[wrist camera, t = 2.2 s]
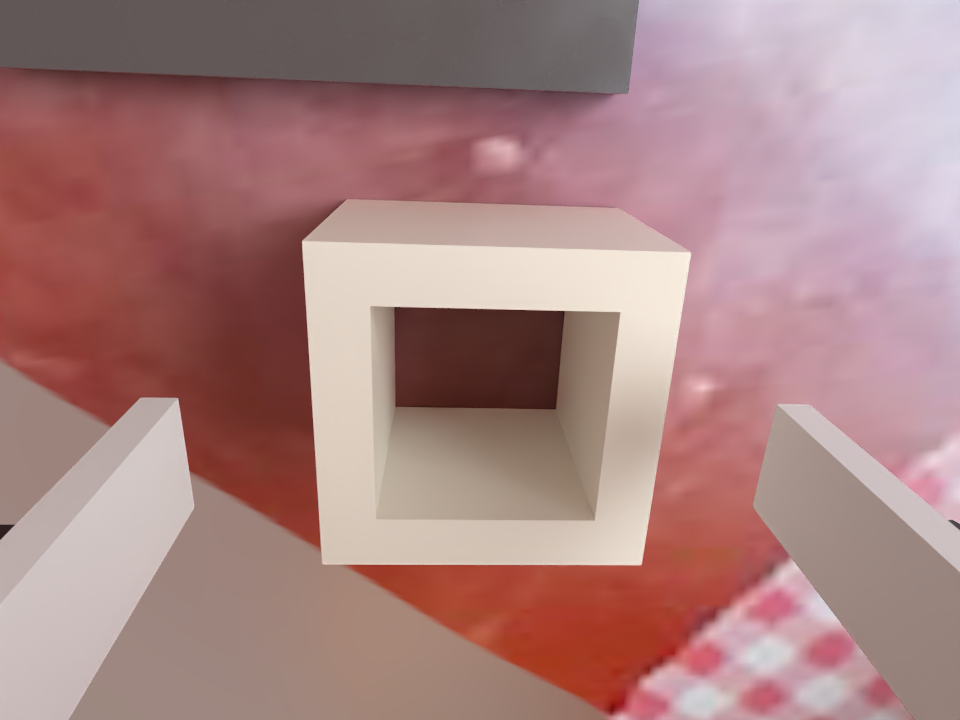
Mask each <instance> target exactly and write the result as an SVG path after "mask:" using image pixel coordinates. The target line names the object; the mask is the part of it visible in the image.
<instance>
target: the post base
mask: <svg viewBox="0 0 960 720" xmlns="http://www.w3.org/2000/svg"><path fill="white" fill-rule="evenodd" d="M638 2H639V0H0V67H3V68H15V69H32V70H55V71H79V72H102V73H126V74H149V75H173V76H196V77H219V78H243V79H266V80H290V81H313V82H337V83H360V84H383V85H407V86H430V87H454V88H477V89H501V90H524V91H548V92H571V93H594V94H628V91H629V82H630V73H631V64H632V56H633V47H634V38H635V29H636V20H637V11H638Z"/></svg>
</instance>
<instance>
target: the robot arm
mask: <svg viewBox="0 0 960 720" xmlns="http://www.w3.org/2000/svg"><path fill="white" fill-rule="evenodd" d="M194 507H195V506H194V499H193V493H192V486H191V479H190V473H189V466H188V460H187V453H186V447H185V440H184V433H183V427H182V420H181V414H180V407H179V400H178V398H140V399H139V400H138V401H137V402H136V403H135V404H134V405H133V406H132V407H131V408H130V409H129V410H128V411H127V412H126V413H125V414H124V415H123V416H122V417H121V418H120V419H119V420H118V421H117V422H116V423H115V424H114V425H113V426H112V427H111V428H110V429H109V430H108V431H107V432H106V433H105V434H104V435H103V436H102V437H101V438H100V439H99V440H98V441H97V442H96V443H95V444H94V446H93V447H92V448H91V449H90V450H89V451H88V452H87V453H86V454H85V455H84V456H83V457H82V458H81V459H80V460H79V461H78V462H77V463H76V464H75V465H74V466H73V467H72V468H71V469H70V470H69V471H68V472H67V473H66V474H65V475H64V476H63V477H62V478H61V479H60V480H59V481H58V482H57V483H56V484H55V485H54V486H53V487H52V488H51V489H50V490H49V491H48V492H47V493H46V494H45V495H44V496H43V497H42V498H41V499H40V500H39V501H38V502H37V503H36V504H35V505H34V506H33V507H32V508H31V509H30V510H29V512H27V513H26V515H25V516H23V518H22V519H21V520H20V521H19V522H18V523H17V524H16V525H0V720H69V718H70V716H71V715H72V713H73V711H74V710H75V708H76V706H77V705H78V703H79V701H80V699H81V698H82V696H83V694H84V693H85V691H86V689H87V687H88V686H89V684H90V683H91V681H92V679H93V678H94V676H95V674H96V673H97V671H98V669H99V667H100V666H101V664H102V662H103V661H104V659H105V657H106V656H107V654H108V652H109V650H110V649H111V647H112V645H113V644H114V642H115V641H116V639H117V637H118V635H119V634H120V632H121V630H122V629H123V627H124V625H125V624H126V622H127V620H128V618H129V617H130V615H131V614H132V612H133V610H134V608H135V607H136V605H137V603H138V602H139V600H140V598H141V597H142V595H143V593H144V592H145V590H146V588H147V587H148V585H149V583H150V582H151V580H152V578H153V576H154V575H155V573H156V571H157V570H158V568H159V566H160V564H161V563H162V561H163V560H164V558H165V556H166V555H167V553H168V551H169V550H170V548H171V546H172V544H173V543H174V541H175V539H176V538H177V536H178V534H179V533H180V531H181V529H182V527H183V526H184V524H185V523H186V521H187V519H188V518H189V516H190V514H191V513H192V511H193V509H194ZM753 508H754V509H755V510H756V512H757V513H758V514H759V516H760V517H761V518H762V520H763V521H764V522H765V524H766V525H767V526H768V528H769V529H770V530H771V532H772V533H773V534H774V536H775V537H776V538H777V539H778V541H779V542H780V543H781V545H782V546H783V547H784V549H785V550H786V551H787V553H788V554H789V555H790V557H791V558H792V559H793V561H794V562H795V563H796V564H797V566H798V567H799V568H800V570H801V571H802V572H803V574H804V575H805V576H806V578H807V579H808V580H809V582H810V583H811V584H812V586H813V587H814V588H815V590H816V591H817V592H818V593H819V595H820V596H821V597H822V599H823V600H824V601H825V603H826V604H827V605H828V607H829V608H830V609H831V611H832V612H833V613H834V615H835V616H836V617H837V619H838V620H839V621H840V622H841V624H842V625H843V626H844V628H845V629H846V630H847V632H848V633H849V634H850V636H851V637H852V638H853V640H854V641H855V642H856V644H857V645H858V646H859V648H860V649H861V650H862V651H863V653H864V654H865V655H866V657H867V658H868V659H869V661H870V662H871V663H872V665H873V666H874V667H875V669H876V670H877V671H878V673H879V674H880V675H881V676H882V678H883V679H884V680H885V682H886V683H887V684H888V686H889V687H890V688H891V690H892V691H893V692H894V694H895V695H896V696H897V698H898V699H899V700H900V702H901V703H902V704H903V705H904V707H905V708H906V709H907V711H908V712H909V713H910V715H911V716H912V717H913V719H914V720H960V524H959V523H957V522H955V521H953V520H947V519H946V518H944V517H943V516H942V515H941V514H940V513H938V512H937V511H936V510H935V509H934V508H932V507H931V506H930V505H929V504H928V503H927V502H925V501H924V500H923V499H922V498H921V497H919V496H918V495H917V494H916V493H915V492H913V491H912V490H911V489H910V488H909V487H907V486H906V485H905V484H904V483H903V482H901V481H900V480H899V479H898V478H897V477H896V476H894V475H893V474H892V473H891V472H890V471H888V470H887V469H886V468H885V467H884V466H882V465H881V464H880V463H879V462H878V461H876V460H875V459H874V458H873V457H872V456H870V455H869V454H868V453H867V452H866V451H865V450H863V449H862V448H861V447H860V446H859V445H857V444H856V443H855V442H854V441H853V440H851V439H850V438H849V437H848V436H847V435H845V434H844V433H843V432H842V431H841V430H839V429H838V428H837V427H836V426H835V425H833V424H832V423H831V422H830V421H829V420H828V419H826V418H825V417H824V416H823V415H822V414H820V413H819V412H818V411H817V410H816V409H814V408H813V407H812V406H811V405H810V404H777V405H776V409H775V413H774V417H773V422H772V426H771V430H770V434H769V439H768V443H767V447H766V451H765V456H764V460H763V464H762V468H761V473H760V477H759V481H758V485H757V490H756V494H755V498H754V502H753Z"/></svg>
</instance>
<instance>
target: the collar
mask: <svg viewBox="0 0 960 720" xmlns="http://www.w3.org/2000/svg"><path fill="white" fill-rule="evenodd" d="M302 250H303V266H304V282H305V298H306V314H307V330H308V346H309V362H310V378H311V394H312V410H313V426H314V442H315V458H316V474H317V490H318V506H319V522H320V538H321V554H322V564H324V565H325V564H328V565H329V564H331V565H642V559H643V552H644V546H645V540H646V534H647V527H648V521H649V515H650V508H651V502H652V496H653V490H654V483H655V477H656V471H657V464H658V458H659V452H660V446H661V439H662V433H663V427H664V420H665V414H666V408H667V402H668V395H669V389H670V383H671V377H672V370H673V364H674V358H675V351H676V345H677V339H678V333H679V326H680V320H681V314H682V307H683V301H684V295H685V289H686V282H687V276H688V270H689V263H690V257H691V252H690V251H688V250H686V249H685V248H683V247H682V246H680V245H678V244H677V243H675V242H673V241H672V240H670V239H668V238H667V237H665V236H664V235H662V234H660V233H659V232H657V231H655V230H654V229H652V228H651V227H649V226H647V225H646V224H644V223H642V222H641V221H639V220H637V219H636V218H634V217H633V216H631V215H629V214H628V213H626V212H624V211H623V210H621V209H619V208H605V207H574V206H544V205H514V204H483V203H453V202H422V201H392V200H361V199H347V200H346V201H345V202H343V203H342V204H341V205H340V206H339V207H338V208H337V209H336V210H335V211H334V212H333V213H332V214H331V215H329V216H328V217H327V218H326V219H325V220H324V221H323V222H322V223H321V224H320V225H319V226H318V227H317V228H316V229H314V230H313V231H312V232H311V233H310V234H309V235H308V236H307V237H306V238H305V239H304V240H303V241H302ZM394 307H423V308H465V309H507V310H549V311H565V314H564V325H563V336H562V348H561V359H560V370H559V381H558V392H557V403H556V409H501V408H436V407H395V316H394Z"/></svg>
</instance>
